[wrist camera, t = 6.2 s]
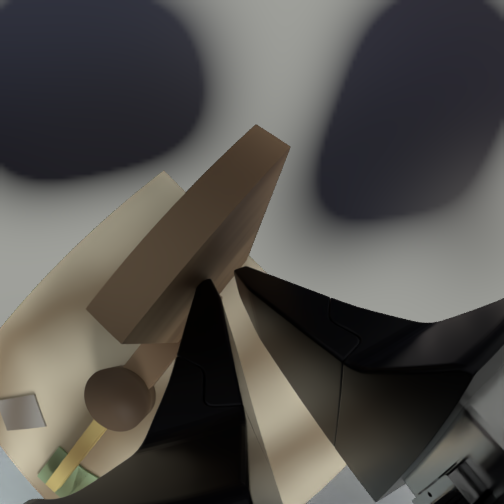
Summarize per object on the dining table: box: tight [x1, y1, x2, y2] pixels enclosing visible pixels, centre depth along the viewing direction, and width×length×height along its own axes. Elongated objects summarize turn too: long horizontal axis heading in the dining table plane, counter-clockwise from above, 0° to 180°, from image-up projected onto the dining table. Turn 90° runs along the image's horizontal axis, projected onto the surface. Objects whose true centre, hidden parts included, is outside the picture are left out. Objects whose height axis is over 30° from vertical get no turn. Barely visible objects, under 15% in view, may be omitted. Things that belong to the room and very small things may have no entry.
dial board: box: [0, 171, 347, 504], centre depth 14 cm, size 20×21×1 cm
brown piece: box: [46, 125, 290, 492], centre depth 9 cm, size 18×3×10 cm, turn 143°
